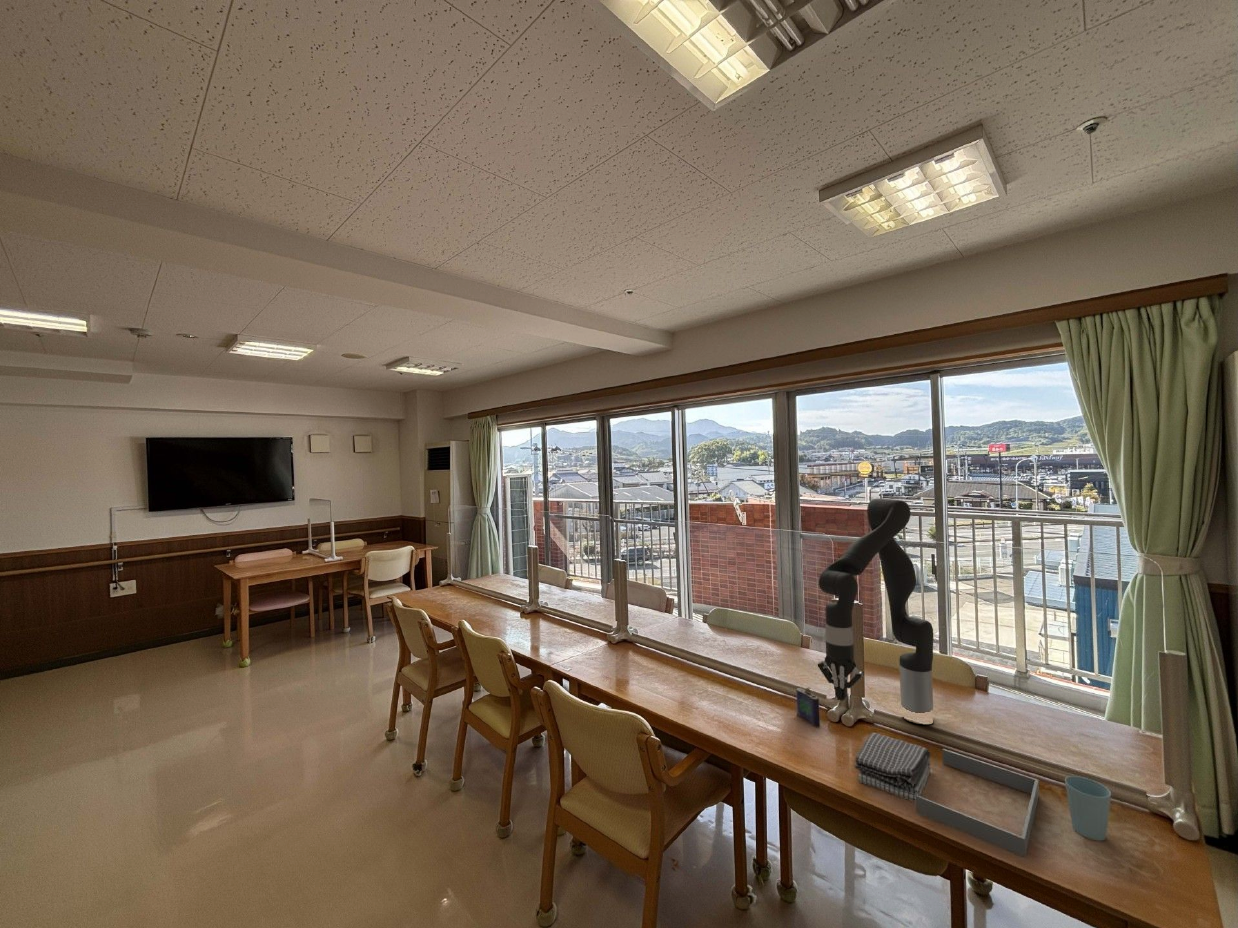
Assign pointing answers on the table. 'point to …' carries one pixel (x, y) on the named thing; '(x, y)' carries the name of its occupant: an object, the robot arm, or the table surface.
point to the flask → (808, 706)
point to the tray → (977, 826)
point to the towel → (893, 766)
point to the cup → (1088, 806)
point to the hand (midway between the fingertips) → (841, 699)
